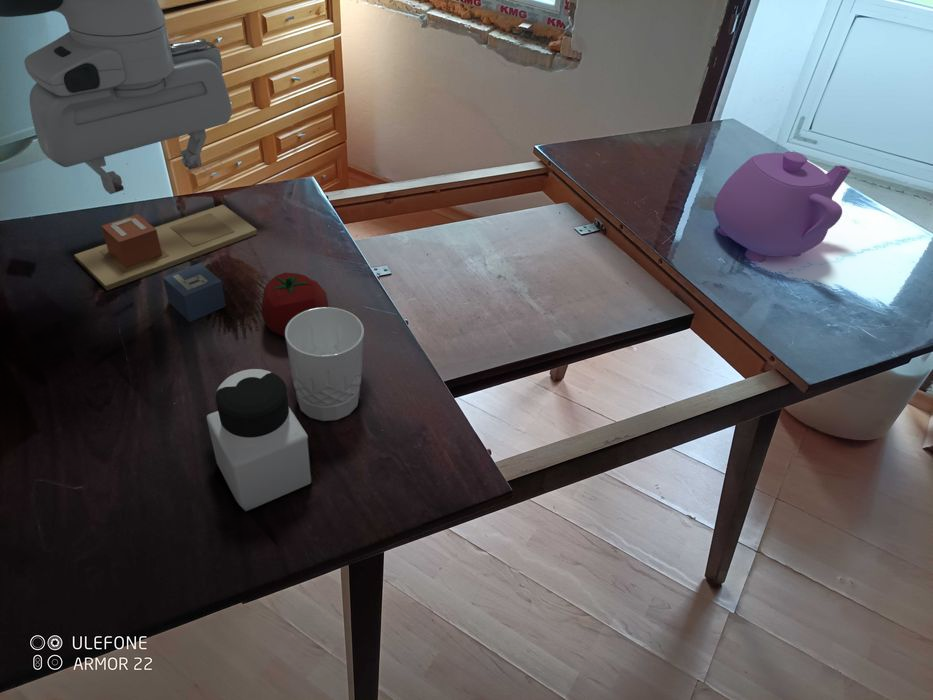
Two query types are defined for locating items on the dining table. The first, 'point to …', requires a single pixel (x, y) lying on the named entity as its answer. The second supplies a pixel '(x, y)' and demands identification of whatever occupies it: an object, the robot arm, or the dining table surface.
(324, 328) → the white cup
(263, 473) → the medicine bottle
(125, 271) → the word board
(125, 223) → the tile
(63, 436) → the dining table surface
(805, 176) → the teapot
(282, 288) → the tomato
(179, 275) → the tile
